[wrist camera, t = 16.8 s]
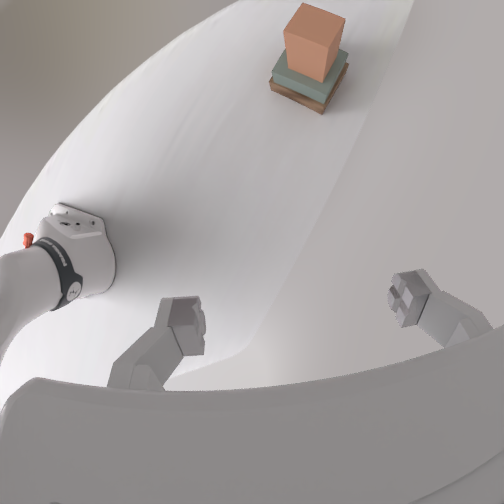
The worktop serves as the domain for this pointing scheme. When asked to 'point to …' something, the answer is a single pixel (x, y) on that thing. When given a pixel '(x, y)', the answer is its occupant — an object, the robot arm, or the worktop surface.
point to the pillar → (313, 41)
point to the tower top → (308, 78)
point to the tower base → (304, 99)
